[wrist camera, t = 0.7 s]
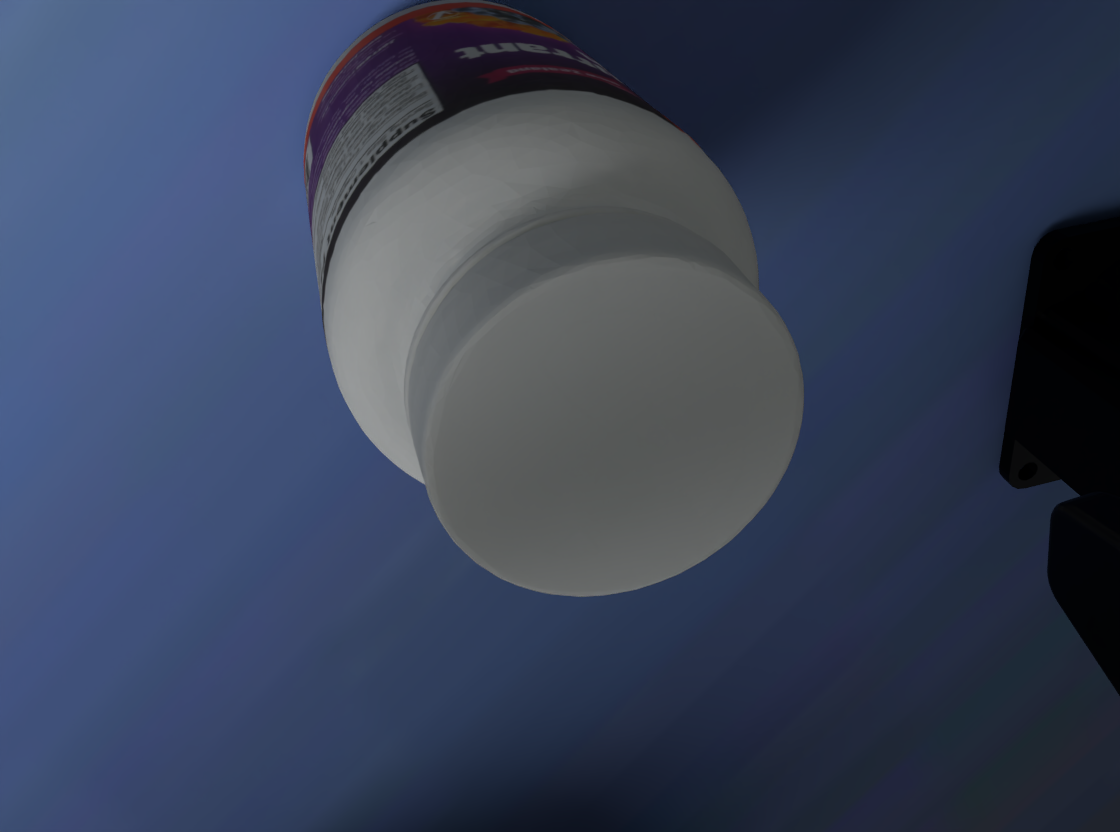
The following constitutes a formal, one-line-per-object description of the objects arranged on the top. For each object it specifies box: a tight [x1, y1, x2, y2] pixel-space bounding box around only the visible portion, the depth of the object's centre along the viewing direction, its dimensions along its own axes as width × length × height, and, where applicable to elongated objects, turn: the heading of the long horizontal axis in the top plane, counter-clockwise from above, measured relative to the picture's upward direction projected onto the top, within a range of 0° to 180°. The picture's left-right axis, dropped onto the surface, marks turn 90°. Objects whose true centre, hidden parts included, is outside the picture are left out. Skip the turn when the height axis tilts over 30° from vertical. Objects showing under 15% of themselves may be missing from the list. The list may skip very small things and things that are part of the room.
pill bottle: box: [304, 0, 804, 597], centre depth 15 cm, size 5×5×10 cm
